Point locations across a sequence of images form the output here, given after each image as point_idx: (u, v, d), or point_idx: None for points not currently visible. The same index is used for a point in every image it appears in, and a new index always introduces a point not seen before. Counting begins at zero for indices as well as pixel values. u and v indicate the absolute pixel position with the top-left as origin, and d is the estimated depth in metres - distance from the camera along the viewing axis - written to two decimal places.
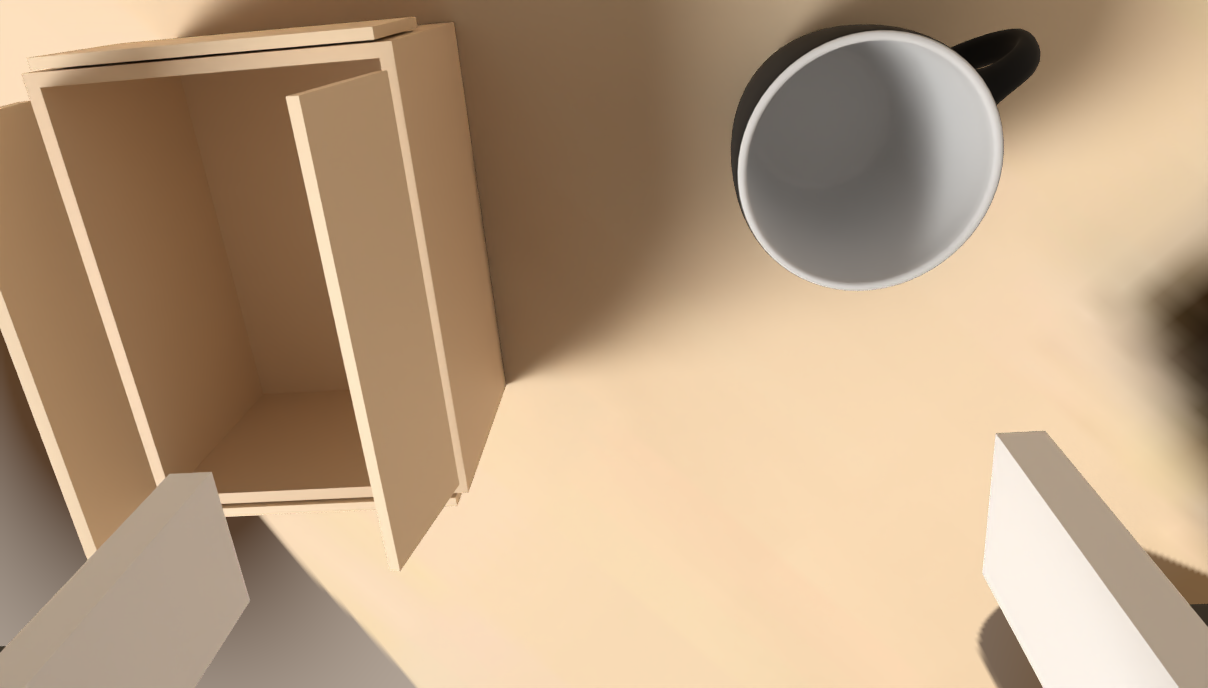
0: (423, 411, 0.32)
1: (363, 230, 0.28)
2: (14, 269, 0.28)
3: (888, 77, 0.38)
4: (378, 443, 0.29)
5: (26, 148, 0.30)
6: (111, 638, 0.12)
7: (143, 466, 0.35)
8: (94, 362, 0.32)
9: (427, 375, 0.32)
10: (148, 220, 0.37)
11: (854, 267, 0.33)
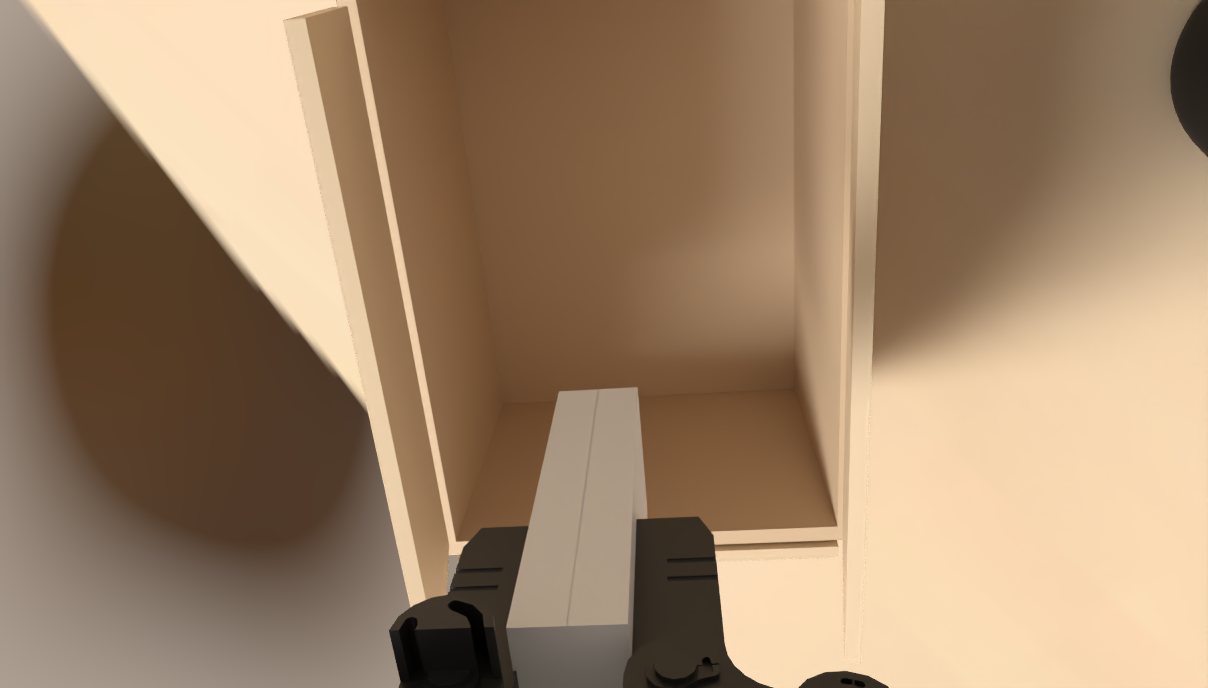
0: None
1: None
2: (361, 241, 0.19)
3: None
4: None
5: (351, 71, 0.21)
6: None
7: (439, 506, 0.27)
8: (407, 371, 0.24)
9: None
10: (430, 182, 0.28)
11: None
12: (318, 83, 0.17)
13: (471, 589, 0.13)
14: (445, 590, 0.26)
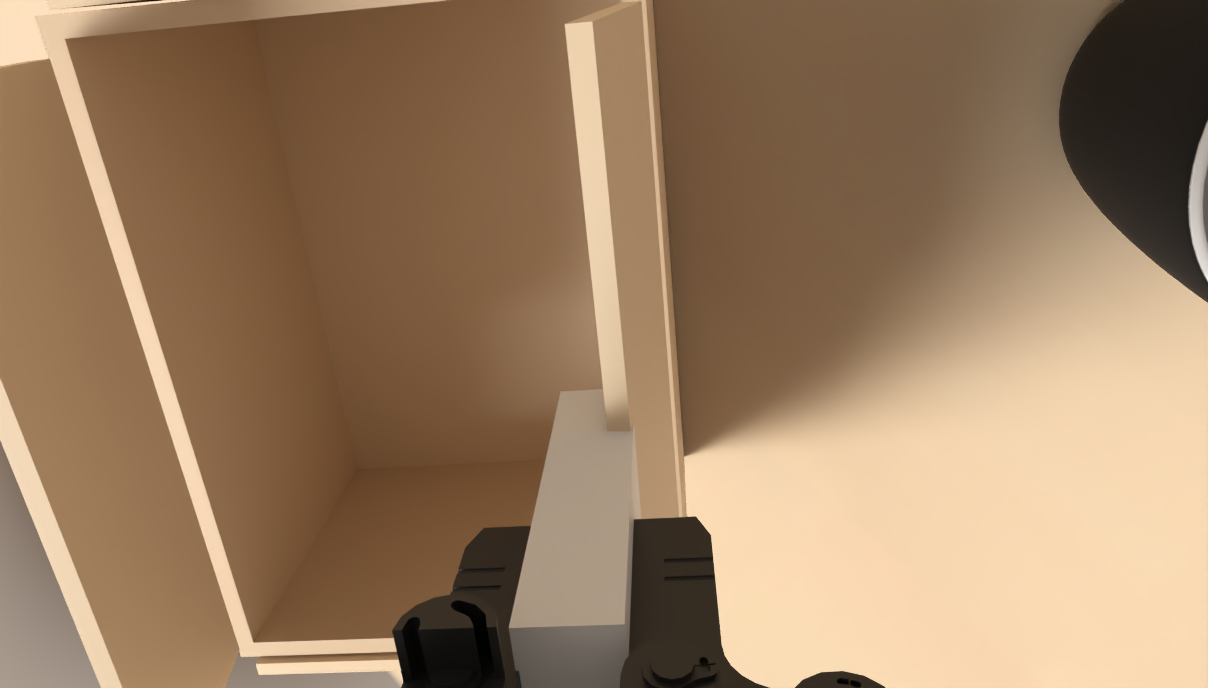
0: None
1: (636, 271, 0.16)
2: (25, 339, 0.17)
3: None
4: None
5: (44, 135, 0.18)
6: None
7: (217, 610, 0.24)
8: (149, 469, 0.21)
9: (671, 488, 0.21)
10: (220, 243, 0.25)
11: None
12: None
13: (473, 589, 0.13)
14: None
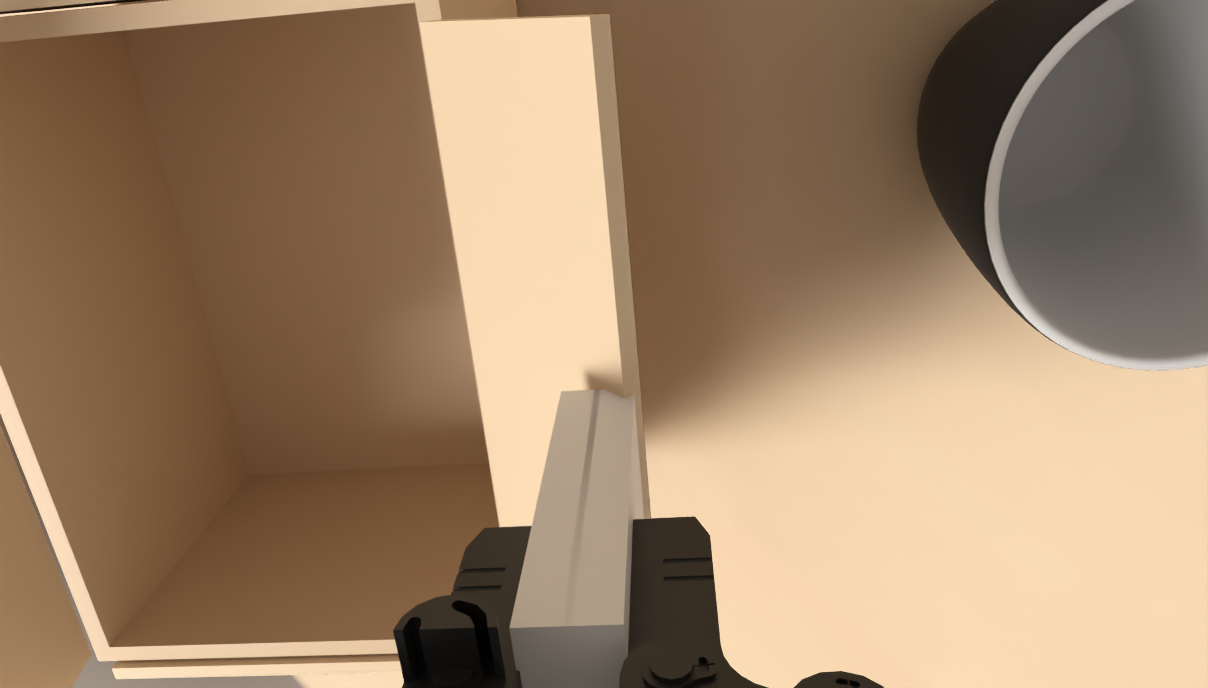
0: None
1: None
2: None
3: (1140, 44, 0.26)
4: None
5: None
6: None
7: (63, 616, 0.24)
8: None
9: None
10: (75, 253, 0.26)
11: (1135, 330, 0.22)
12: None
13: (474, 589, 0.13)
14: None
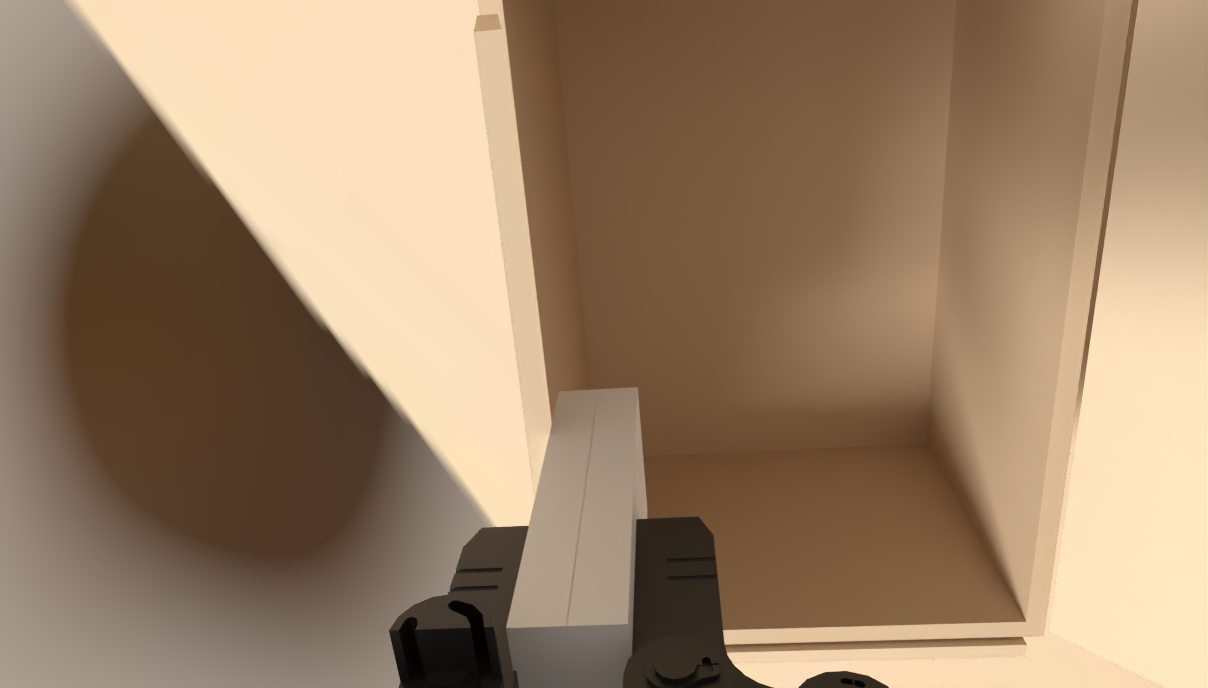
0: None
1: None
2: None
3: None
4: None
5: None
6: None
7: None
8: None
9: None
10: (551, 218, 0.24)
11: None
12: (511, 113, 0.13)
13: (471, 589, 0.13)
14: None
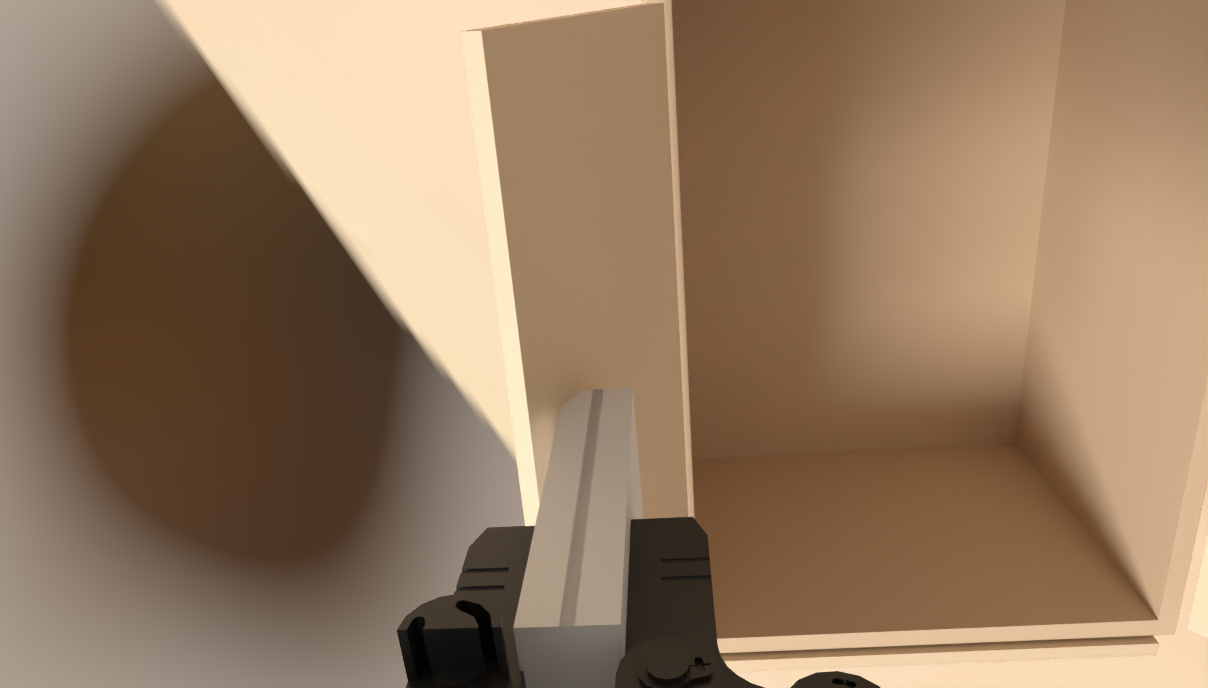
0: None
1: None
2: (555, 303, 0.16)
3: None
4: None
5: (634, 86, 0.17)
6: None
7: None
8: (650, 451, 0.20)
9: None
10: None
11: None
12: (491, 113, 0.13)
13: (477, 589, 0.13)
14: None
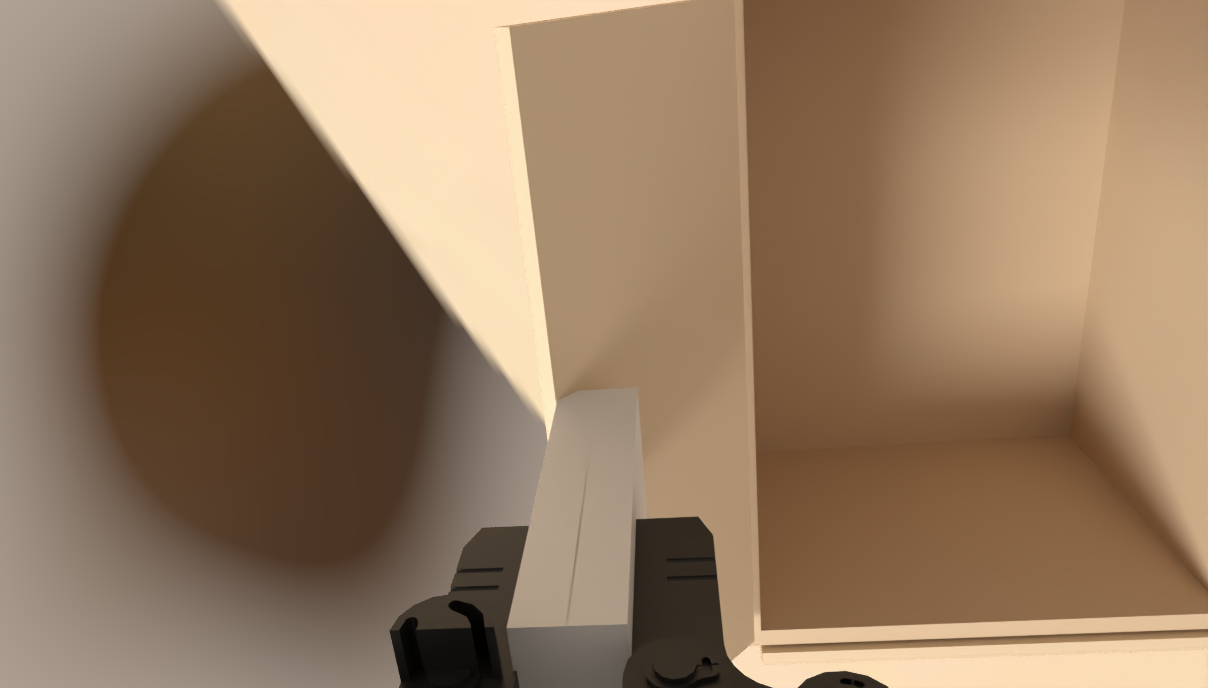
0: None
1: None
2: (589, 286, 0.16)
3: None
4: None
5: (693, 78, 0.17)
6: None
7: (739, 596, 0.22)
8: (703, 438, 0.20)
9: None
10: None
11: None
12: (519, 104, 0.14)
13: (471, 589, 0.13)
14: None
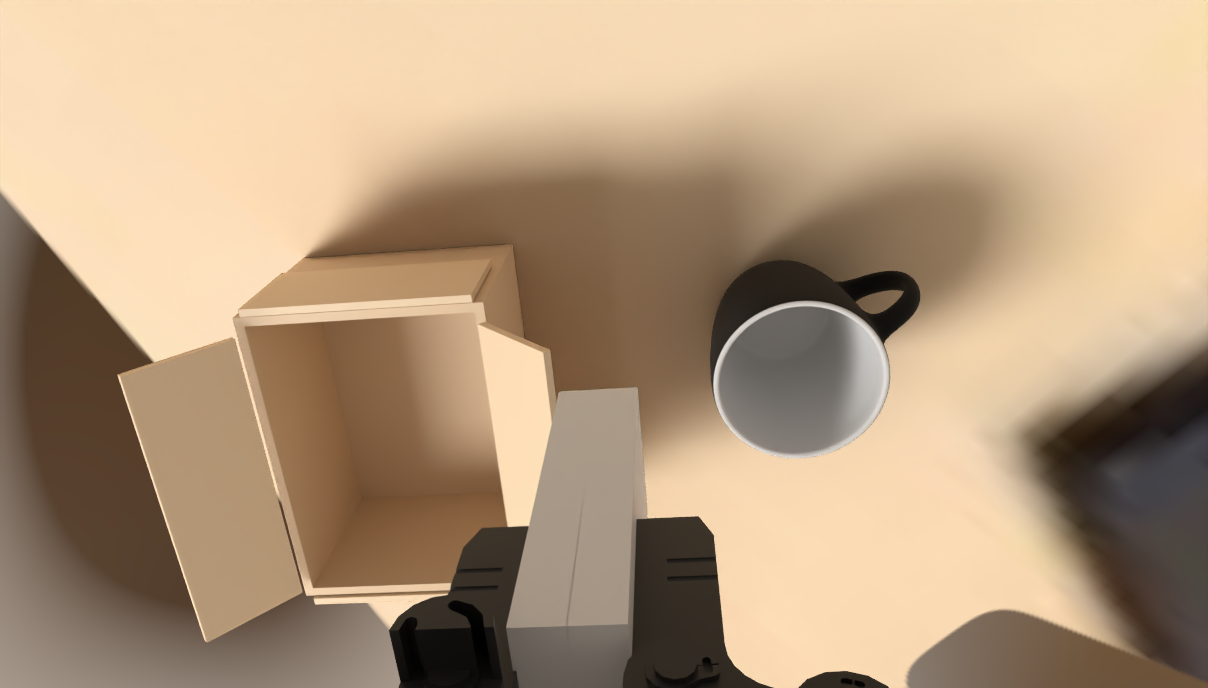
0: None
1: None
2: (171, 453, 0.44)
3: None
4: None
5: (216, 372, 0.45)
6: None
7: (287, 571, 0.50)
8: (248, 504, 0.48)
9: None
10: (297, 393, 0.52)
11: (795, 438, 0.48)
12: (127, 399, 0.42)
13: (471, 589, 0.13)
14: (262, 611, 0.50)
